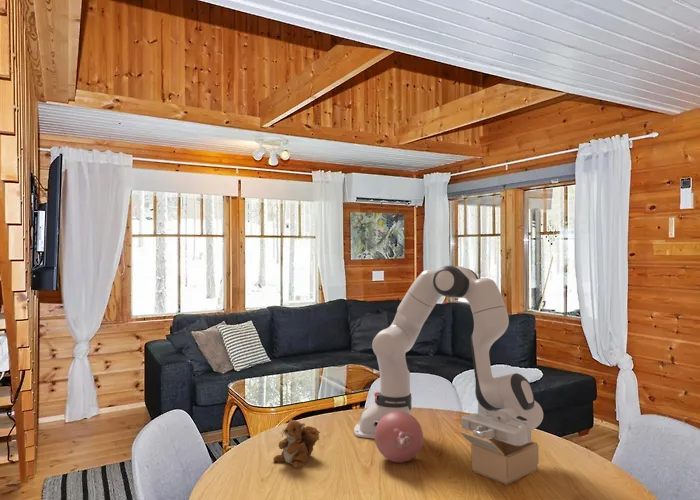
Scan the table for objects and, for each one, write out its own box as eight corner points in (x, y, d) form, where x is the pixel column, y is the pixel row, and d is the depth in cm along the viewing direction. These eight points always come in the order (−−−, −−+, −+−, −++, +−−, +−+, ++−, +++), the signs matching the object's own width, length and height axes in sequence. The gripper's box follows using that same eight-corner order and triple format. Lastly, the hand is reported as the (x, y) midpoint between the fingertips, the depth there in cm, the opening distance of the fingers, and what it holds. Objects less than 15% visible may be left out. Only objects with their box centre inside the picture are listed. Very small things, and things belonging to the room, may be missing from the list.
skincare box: (486, 427, 190) (486, 395, 190) (477, 424, 194) (477, 392, 194) (497, 424, 193) (497, 392, 193) (488, 421, 197) (488, 390, 197)
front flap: (460, 430, 148) (459, 432, 148) (491, 441, 139) (490, 443, 139) (473, 442, 151) (472, 444, 151) (504, 454, 143) (503, 455, 143)
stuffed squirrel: (270, 462, 160) (270, 420, 160) (303, 449, 170) (303, 410, 170) (291, 471, 153) (291, 427, 153) (324, 457, 163) (324, 416, 164)
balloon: (374, 477, 148) (373, 424, 149) (375, 450, 168) (374, 404, 168) (426, 478, 147) (426, 425, 147) (421, 451, 167) (421, 405, 167)
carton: (503, 456, 162) (503, 431, 163) (540, 470, 152) (540, 443, 152) (470, 470, 152) (470, 444, 152) (508, 486, 142) (507, 457, 142)
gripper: (477, 405, 161) (448, 414, 152) (535, 422, 145) (507, 433, 136) (477, 425, 160) (449, 435, 152) (535, 444, 144) (507, 456, 136)
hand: (477, 434), depth 144 cm, fingers closed, pressing on front flap
